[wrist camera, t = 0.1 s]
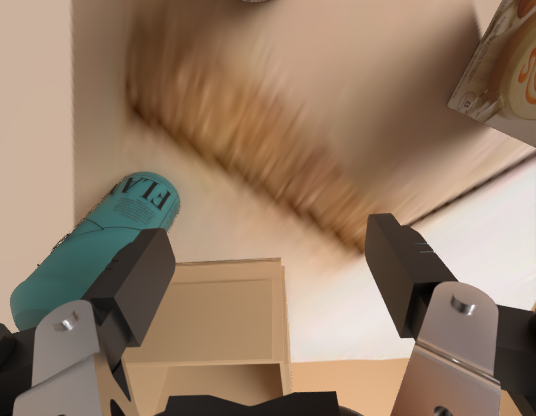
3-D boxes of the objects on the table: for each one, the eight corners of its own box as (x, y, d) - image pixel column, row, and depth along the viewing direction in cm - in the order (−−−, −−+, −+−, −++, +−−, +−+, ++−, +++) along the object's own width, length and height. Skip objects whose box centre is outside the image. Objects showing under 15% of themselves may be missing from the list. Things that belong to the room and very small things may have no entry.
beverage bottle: (192, 176, 29) (78, 381, 12) (179, 222, 32) (76, 432, 15) (129, 153, 27) (-99, 348, 11) (122, 204, 31) (-58, 412, 14)
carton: (143, 262, 36) (87, 364, 25) (283, 255, 35) (288, 358, 24) (178, 335, 45) (147, 432, 34) (289, 331, 44) (294, 430, 33)
